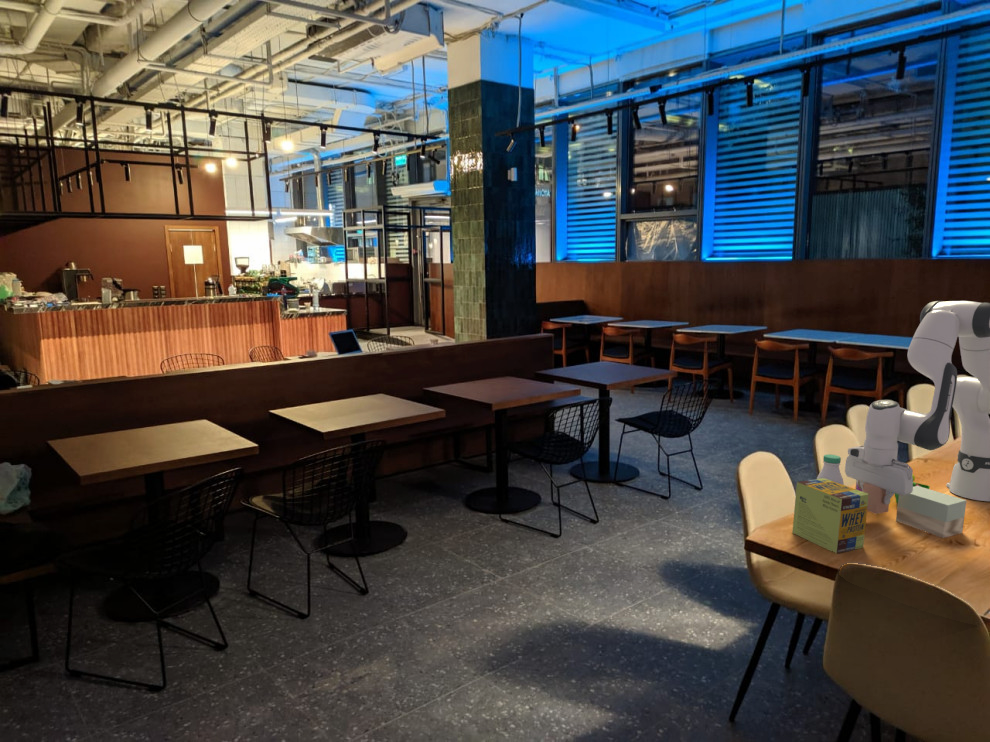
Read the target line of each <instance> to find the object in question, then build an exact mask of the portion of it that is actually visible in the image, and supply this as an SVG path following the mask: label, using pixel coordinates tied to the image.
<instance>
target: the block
mask: <svg viewBox="0 0 990 742" xmlns="http://www.w3.org/2000/svg"><path fill="white" fill-rule="evenodd" d="M863 492H865V493H868V494H869V495H868V505H867V512H870V513H872V514H875V515H879V514H883V513H888V512H889V507H890V503H889V504H887V505H886V504H884V503H882V502H881V501H882V497H885V496H886V495H887V494H886V493H885V492H886V490H885V489H882V488H880V487H877V486H874V485H871V484H868V483H864V486H863Z"/></svg>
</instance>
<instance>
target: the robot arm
mask: <svg viewBox="0 0 990 742" xmlns="http://www.w3.org/2000/svg"><path fill="white" fill-rule="evenodd" d="M919 322H920V323H919V325H918V327H917V328H916V330H915V332H914V334H913V336H912V339H911V341H910V344H909V346H908V349H907V361H908V363H909V364H910V366H911V367H912V368H913V369H914V370H916V371H917V372H918V373H920V374H922V375H923V376H924V377H926V378H929V379H930V380H931V381H932V382H933V383H934V391H933V397H932V402H931V408H930V410H929V412H928V413H923V412H919V411H918V412H917V411H913V410H909V409H906V408H903V407H900V404H899V402H897V401H894V400H892V399H879V400H875V401H873V402H871V404H870V405H869V406H868V410H867V414H866V419H865V429H864V430H865V439H864V442H863V445H861V446H854V447H850V448H847V455H848V456H847V457H846V459H845V465H844V473H845V475H846V477H848V478H851V479H854V480H859V481H860V486H861V488H862V490H863V486H864V483H868V484H871V485H874V486H877V487H880V488H882V489H885V490H886V492H885V493H886V494H887V495H886V496H885V497H882V501H881V502H882V503H884V504H886V505H887V504H889V505H890V503H891V498H892V497H893V496H895V493H896V494H899V495H902V496H904V495H909V494H910V493H912V491H913V482H914V481H913V478H912V474H913V470H914V469H913V468H912V467H911V466H910V464H908V463H907V462H902V461H899V460H898V451H899V443H898V441H899V442H900V443H904V444H909V445H913V446H916V447H919V448H921V449H924V450H927V451H935V450H937V449H939V448H941V447H943V446H945V445H946V444H947V442H948V440H949V438H950V433H951V418H952V410H953V409H954V411H955V413H956V414H957V416H958V419H959V422H960V427H961V439H960V440H961V441H960V449H959V450H958V452H957V459H956V460H957V462H956V463H955V464H954V465H953V468H952V471H951V472H952V473H951V475H950V476H951V477H950V482H947V483H946V485H945V486H946V487H947V488H948V489H949V492H950V493H953V494H954V495H956V496H959V497H961V498H965V499H970V500H974V501H981V502H983V501H984V502H990V416H989V415H990V302H980V301H979V302H978V301H970V300H948V301H944V300H935V301H930V302H929V303H927V304H926V305H925V306H924V307H923V308H922V310H921V311H920V315H919ZM957 340H958V344H959V350H960V356H961V358H960V359H961V363H962V367H963V369H964V370H965V371H966V372H968V373H969V374H970V375H971V376H958V370H957V367H956V366H955V365H954V364H953V363H952V355H953V352H954V349H955V346H956V343H957ZM913 475H914V474H913Z"/></svg>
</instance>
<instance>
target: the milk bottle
mask: <svg viewBox="0 0 990 742" xmlns="http://www.w3.org/2000/svg"><path fill="white" fill-rule="evenodd" d="M841 460H842V457H840V456H839V455H836V454H832V453H829V454H824V455H823V462H822V463H823V467H822V469H821V471H820V472H819V473H818V475H817V476H816V479H821V478H825V479H828V480H831V481H833V482H836V483H839V484H842V485H845V483H844V478H843V476H842V473H841V470H840V465H841Z"/></svg>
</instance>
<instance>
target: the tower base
mask: <svg viewBox="0 0 990 742" xmlns="http://www.w3.org/2000/svg"><path fill="white" fill-rule="evenodd" d="M896 507H897V509H896V514H895V515H896V517H895V522H897V521H898V523H900V522H901V524H903V523H904V524H903V525H905V524H907V525H906V526H908V525H909V526H908V527H911V526H912V527H911V528H914V527H915V528H914V529H916V528H917V530H919V529H920V531H922V530H923V531H922V532H924V531H926V532H925V533H927V532H928V533H927V534H930V533H931V535H933V536H935V535H936V536H935V537H938V538H941V539H944V538H948V537H952V536H955V535H959V534H962V533H963V530H964V524H965V521H964V520H965V516H964V517H962V518H959V519H956V520H952V521H949V522H944V521H941V520H938V519H935V518H932V517H929V516H926V515H922V514H919V513H916V512H913V511H910V510H907V509H904V508H901V507H898V505H897V506H896Z"/></svg>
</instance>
